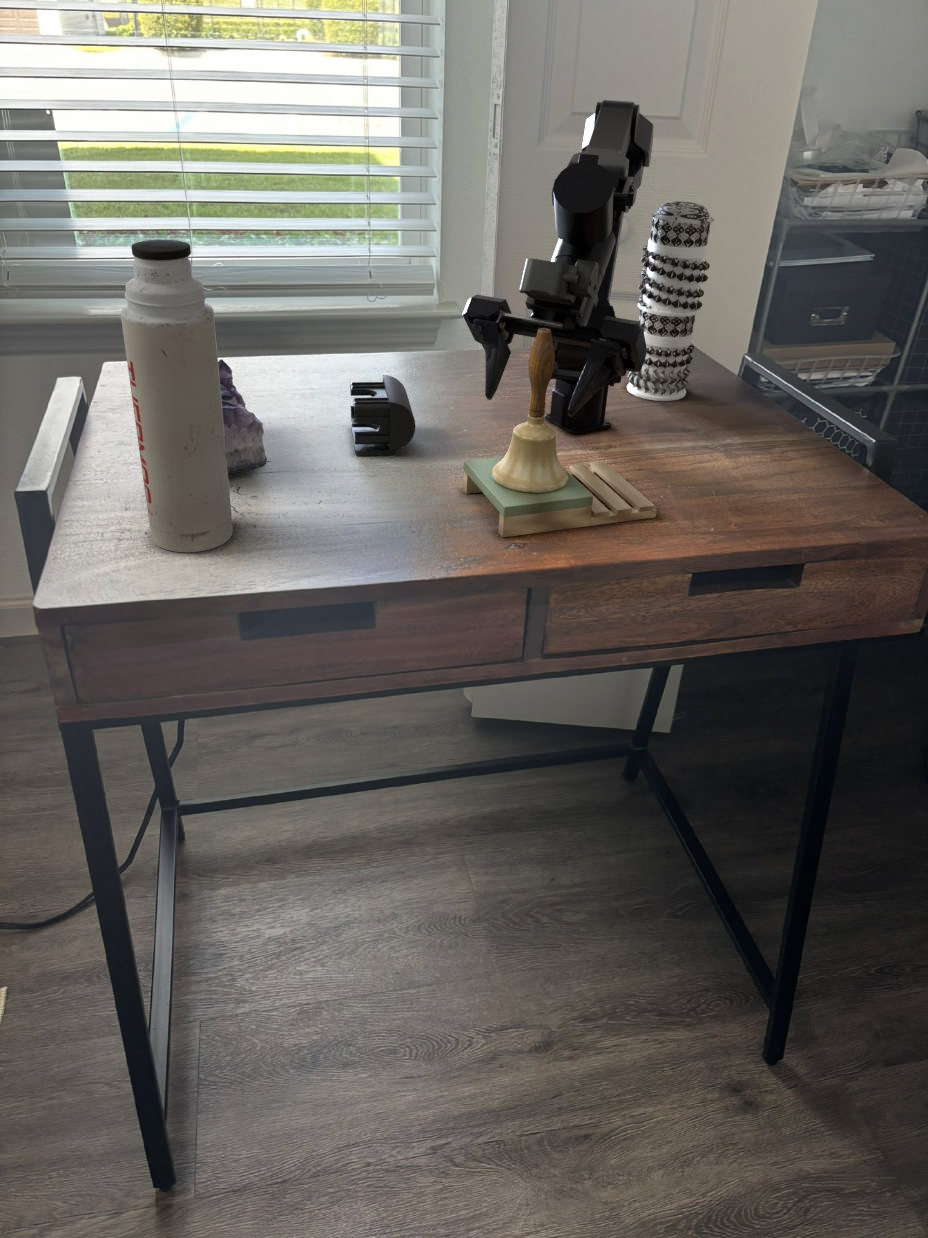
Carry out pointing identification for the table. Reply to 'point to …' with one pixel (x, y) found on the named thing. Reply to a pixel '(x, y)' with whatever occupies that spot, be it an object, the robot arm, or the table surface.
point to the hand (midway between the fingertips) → (528, 406)
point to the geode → (239, 427)
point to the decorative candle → (671, 298)
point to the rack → (558, 499)
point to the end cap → (381, 417)
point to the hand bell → (534, 432)
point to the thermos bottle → (176, 399)
